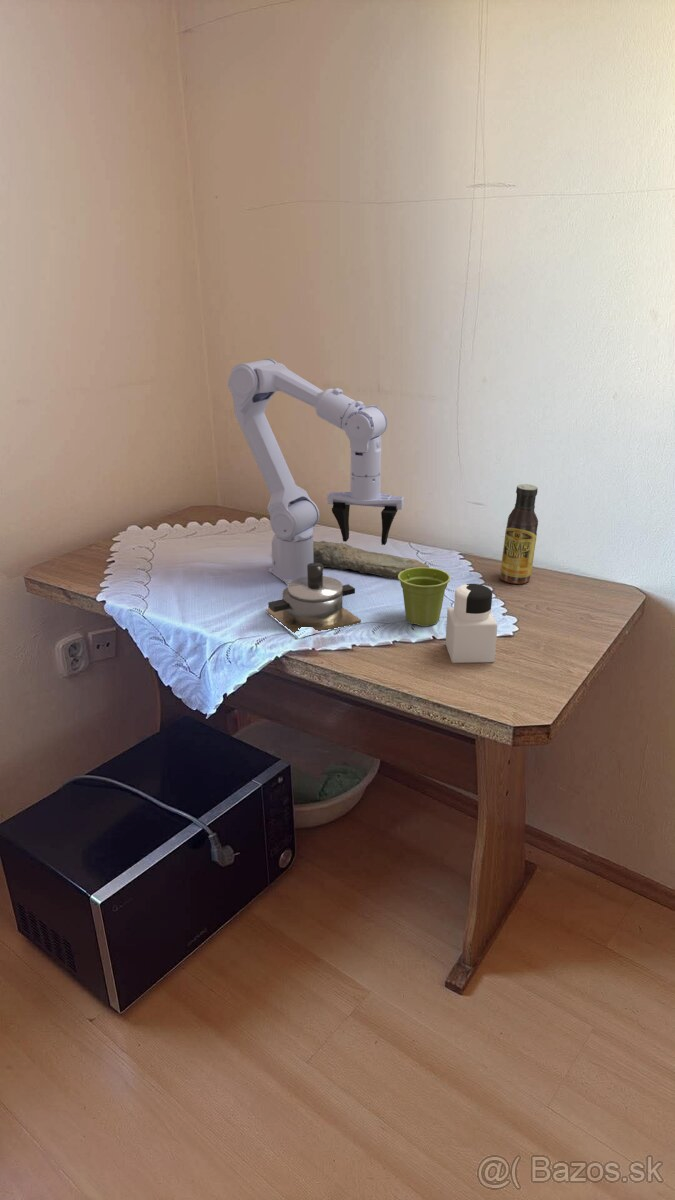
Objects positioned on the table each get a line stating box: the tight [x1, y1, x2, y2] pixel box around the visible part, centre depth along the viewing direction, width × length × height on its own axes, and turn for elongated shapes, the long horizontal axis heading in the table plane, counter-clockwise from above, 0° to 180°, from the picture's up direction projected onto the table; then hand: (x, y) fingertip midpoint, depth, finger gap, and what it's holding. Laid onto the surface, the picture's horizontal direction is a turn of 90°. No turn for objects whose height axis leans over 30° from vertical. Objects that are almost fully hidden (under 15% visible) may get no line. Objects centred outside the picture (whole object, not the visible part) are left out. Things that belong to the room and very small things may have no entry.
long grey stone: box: [313, 540, 430, 579], centre depth 173 cm, size 35×5×10 cm
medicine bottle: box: [445, 583, 498, 664], centre depth 133 cm, size 7×7×12 cm
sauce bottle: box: [500, 483, 539, 585], centre depth 161 cm, size 6×6×20 cm
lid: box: [287, 563, 343, 603], centre depth 146 cm, size 10×10×5 cm
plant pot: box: [397, 567, 451, 627], centre depth 146 cm, size 9×9×9 cm
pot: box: [265, 583, 362, 633], centre depth 148 cm, size 13×17×5 cm
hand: (364, 541), depth 156 cm, fingers open, 7 cm apart
